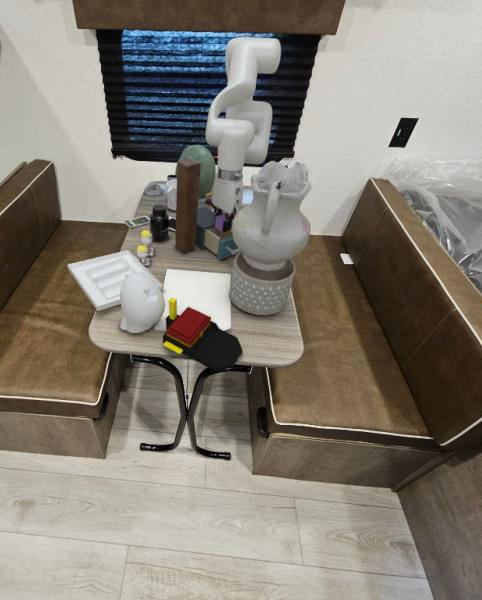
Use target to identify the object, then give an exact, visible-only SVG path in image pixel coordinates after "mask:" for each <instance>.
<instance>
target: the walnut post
mask: <svg viewBox="0 0 482 600" xmlns="http://www.w3.org/2000/svg"><path fill="white" fill-rule="evenodd" d="M176 162H177V163H176V166H177V198H176V211H175V218H176V232H175V241H174V243H175V245H174V248H175V249H177V250H178V252H180V253H181V254H182V255H185V254H187V253H190V252H193V251H195V250H196V245H195V240H196V226H197V212H198V208H199V199H200V198H199V184H200V170H201V163H200V162H198V161H196V160H194V159H192V158H189V159H184V160H180V161H178V160H177V161H176Z"/></svg>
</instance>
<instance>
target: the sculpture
mask: <svg viewBox="0 0 482 600" xmlns="http://www.w3.org/2000/svg"><path fill="white" fill-rule="evenodd" d="M189 158H192V159H194V160H196V161H198V162H200V163H201V170H200V184H199V198H198V199H201V198H206V194H208V193H210V192H211V191H212V189H213V184H214V179H215V176H216V174H217V166H216V163H215V162H216V161H215V158H214V156H213V155H212V153H211V151H210V150H209V149H208V148H207V147H206V146H203V145H200V144H194V145H189V146H188V147H186V148H185V149H183V150H182V151H181V155H180V157H179V158H178V160H177V161H180V160H184V159H189ZM174 173H175V174H174V175H177V165H175V172H174Z"/></svg>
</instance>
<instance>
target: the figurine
mask: <svg viewBox="0 0 482 600" xmlns="http://www.w3.org/2000/svg"><path fill="white" fill-rule="evenodd" d="M125 277H126V278H125V280H124V281H123V283H122V286H121V290H120V303H121V304H120V307H121V308H120V309H121V311H122V313H123V316H122V318H121V322H120V324H119V328H120V329H121V330H123V331H127V332H128V333H131V334H138V333H143V332H145V331H147V330H149V329H151V328H152V327H153V326H154V325H155V324H156V323H157V322H158V321H159V320H160V319H161V317H162V316H163V315H164V312H165V310H166V300H165V297H164V295H163V292H162V291H161V290H160V289H159V287H158V286H157V285H156V283H155V282H154V281H153V280H152V279H151V278H149V277H148V276H146V275H144V272H137V273H131V274H126V275H125Z"/></svg>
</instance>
